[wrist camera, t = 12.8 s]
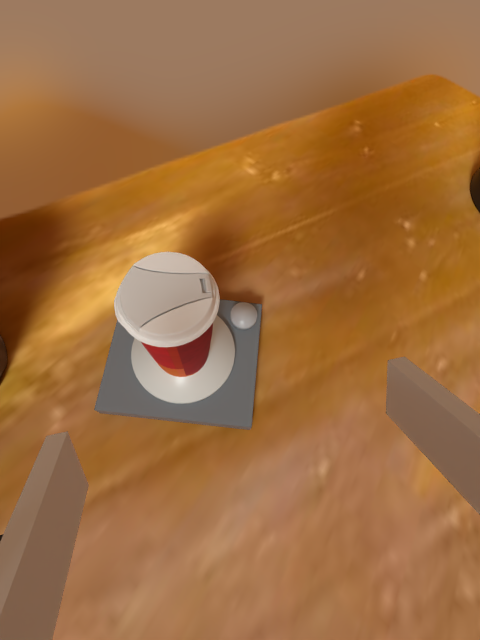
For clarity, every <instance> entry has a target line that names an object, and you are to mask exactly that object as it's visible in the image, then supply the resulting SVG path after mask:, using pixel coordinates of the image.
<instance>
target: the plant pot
mask: <svg viewBox="0 0 480 640" xmlns="http://www.w3.org/2000/svg"><path fill="white" fill-rule="evenodd" d="M6 365H7V351H6V347H5V344H4V341H3V339H2V337H1V335H0V377H1V375H2V373H3V371H4V369H5V368H6Z"/></svg>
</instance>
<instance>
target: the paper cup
mask: <svg viewBox="0 0 480 640" xmlns="http://www.w3.org/2000/svg"><path fill="white" fill-rule="evenodd" d="M219 302H220V296H219V290H218V286H217V283H216V281H215V279H214V278H213V276H212V275H211V273H210V272H209V271H208V270H207V269H206V268H205V267H204V266H202V265H201V264H200V263H199V262H198V261H196V260H195V259H193V258H191V257H189V256H187V255H184V254H181V253H176V252H160V253H155V254H152V255H149V256H147V257H145V258H143V259H141V260H139V261H138V262H136V263H135V264H134V265H133V266H132V267H131V269H130V270H129V271H128V273H127V274H126V276H125V278H124V279H123V281H122V283H121V285H120V287H119V289H118V291H117V295H116V297H115V300H114V308H115V313H116V317H117V319H118V322H119V323H120V324H121V325H122V326H123V327H124V328H125V329H126V330H127V331H128V333H129V334H131V335H132V336H133V337H134V338H136V339H137V340H139V341H140V342H141V343H142V344H143V346H144V347H145V348H146V350H147V351H148V352H149V354H150V355H151V356H152V357H153V359H154V360H155V361H156V362H157V364H158V365H159V366H160V367H161V368H162V369H163V370H164V371H165V372H167V373H168V374H170V375H173V376H176V377H186V376H190V375H193V374H195V373H196V372H198V371H199V370H200V369H201V368H202V367H203V366H204V364H205V363H206V361H207V358H208V355H209V349H210V343H211V337H212V331H213V321H214V320H215V317H216V315H217V313H218V309H219Z"/></svg>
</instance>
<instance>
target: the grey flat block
mask: <svg viewBox="0 0 480 640" xmlns="http://www.w3.org/2000/svg"><path fill="white" fill-rule="evenodd" d="M261 310H262V304H255V303H246V302H238V301H229V300H221V299H220V302H219V309H218V313H217V315H216V317H215V320H214V321H213V331H212V337H211V343H210V349H209V355H208V358H207V361H206V363H205V364H204V366H203V367H202V368H201V369H200V370H199V371H198V372H196V373H195V374H193V375H190V376H186V377H176V376H173V375H170V374H168V373H167V372H165V371H164V370H163V369H162V368H161V367H160V366H159V365H158V364H157V362H156V361H155V360H154V359H153V357H152V356H151V355H150V354H149V352H148V351H147V350H146V348H145V347H144V346H143V344H142V343H141V342H140V341H139V340H137V339H136V338H134V337H133V336H132V335H131V334H129V333H128V331H127V330H126V329H125V328H124V327H123V326H122V325H121V324H120V323H119V322H118V320H117V323H116V327H115V331H114V335H113V339H112V343H111V347H110V351H109V355H108V358H107V362H106V366H105V370H104V374H103V378H102V382H101V386H100V390H99V394H98V397H97V401H96V405H95V409H94V410H96V411H97V412H99V413H105V414H113V415H122V416H131V417H140V418H149V419H158V420H167V421H176V422H184V423H193V424H202V425H211V426H220V427H229V428H238V429H247V430H250V429H251V426H252V415H253V403H254V391H255V380H256V368H257V357H258V345H259V334H260V322H261Z"/></svg>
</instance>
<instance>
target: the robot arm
mask: <svg viewBox="0 0 480 640" xmlns="http://www.w3.org/2000/svg"><path fill="white" fill-rule="evenodd" d="M471 195H472V198H473V201H474V203H475V205H476V207H477V208H478V210H479V211H480V168H479V169H478V170H477V171H476V173H475V174H474V176H473V178H472V181H471ZM386 414H387V415H388V416H389V417H390V418H391V419H392V420H393V421H394V422H395V423H396V425H397V426H398V427H399V428H400V429H401V430H402V431H403V432H404V433H405V434H406V435H407V436H408V438H409V439H410V440H411V441H412V442H413V443H414V444H415V445H416V446H417V447H418V448H419V449H420V451H421V452H422V453H423V454H424V455H425V456H426V457H427V458H428V459H429V460H430V461H431V462H432V464H433V465H434V466H435V467H436V468H437V469H438V470H439V471H440V472H441V473H442V474H443V475H444V477H445V478H446V479H447V480H448V481H449V482H450V483H451V484H452V485H453V486H454V487H455V488H456V490H457V491H458V492H459V493H460V494H461V495H462V496H463V497H464V498H465V499H466V500H467V501H468V503H469V504H470V505H471V506H472V507H473V508H474V509H475V510H476V511H477V512H478V513H479V514H480V414H479V413H477V412H476V411H475V410H473V409H472V408H471V407H469V406H468V405H467V404H466V403H464V402H463V401H462V400H460V399H459V398H458V397H456V396H455V395H454V394H453V393H451V392H450V391H449V390H447V389H446V388H445V387H443V386H442V385H441V384H439V383H438V382H437V381H436V380H434V379H433V378H432V377H430V376H429V375H428V374H426V373H425V372H424V371H423V370H421V369H420V368H419V367H417V366H416V365H415V364H413V363H412V362H411V361H409V360H408V359H407V358H406V357H401V358H396V359H392V360H388V370H387V398H386ZM87 490H88V482H87V480H86V477H85V474H84V472H83V469H82V467H81V464H80V462H79V459H78V457H77V454H76V452H75V449H74V447H73V444H72V441H71V439H70V436H69V434H68V431H67V432H63V433H58V434H54V435H49V436H46V438H45V441H44V443H43V445H42V447H41V450H40V452H39V454H38V457H37V459H36V461H35V463H34V466H33V468H32V470H31V473H30V475H29V477H28V479H27V482H26V484H25V486H24V489H23V491H22V493H21V495H20V498H19V500H18V502H17V505H16V507H15V509H14V511H13V514H12V516H11V518H10V521H9V523H8V525H7V527H6V530H5V532H4V534H3V535H0V640H52V638H53V634H54V630H55V626H56V621H57V617H58V613H59V609H60V604H61V600H62V596H63V592H64V587H65V583H66V579H67V575H68V570H69V566H70V562H71V558H72V553H73V549H74V545H75V541H76V536H77V532H78V528H79V524H80V519H81V515H82V511H83V507H84V502H85V498H86V494H87Z"/></svg>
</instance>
